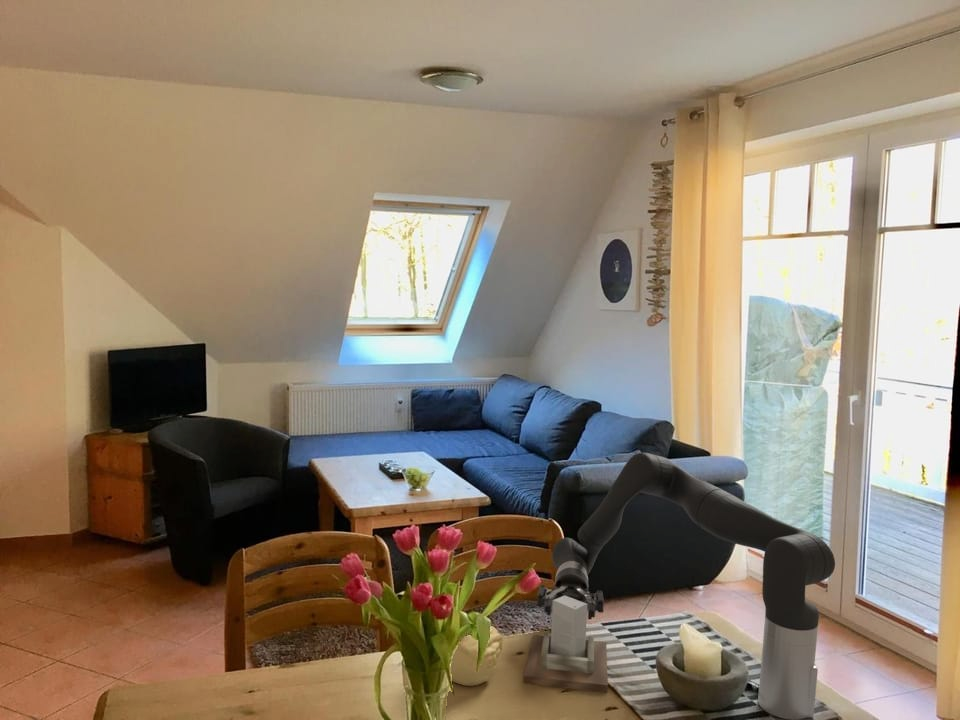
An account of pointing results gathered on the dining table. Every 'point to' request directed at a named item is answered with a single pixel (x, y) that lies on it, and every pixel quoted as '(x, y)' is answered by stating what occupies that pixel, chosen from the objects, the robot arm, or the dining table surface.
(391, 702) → the dining table surface
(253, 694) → the dining table surface
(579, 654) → the skincare box
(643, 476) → the robot arm
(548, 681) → the walnut stand
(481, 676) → the sculpture
